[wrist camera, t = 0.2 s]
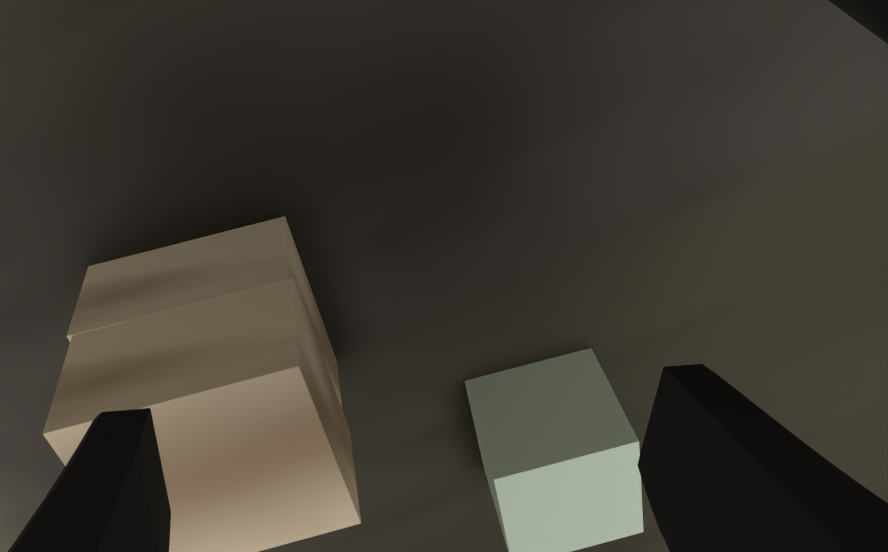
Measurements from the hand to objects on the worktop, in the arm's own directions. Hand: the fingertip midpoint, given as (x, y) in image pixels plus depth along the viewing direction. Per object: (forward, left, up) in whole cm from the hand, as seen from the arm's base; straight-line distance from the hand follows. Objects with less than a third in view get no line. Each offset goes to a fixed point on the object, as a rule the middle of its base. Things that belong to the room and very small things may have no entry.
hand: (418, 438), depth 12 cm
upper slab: (-4, +4, -7) cm, 9 cm away
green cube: (-10, -3, -10) cm, 15 cm away
